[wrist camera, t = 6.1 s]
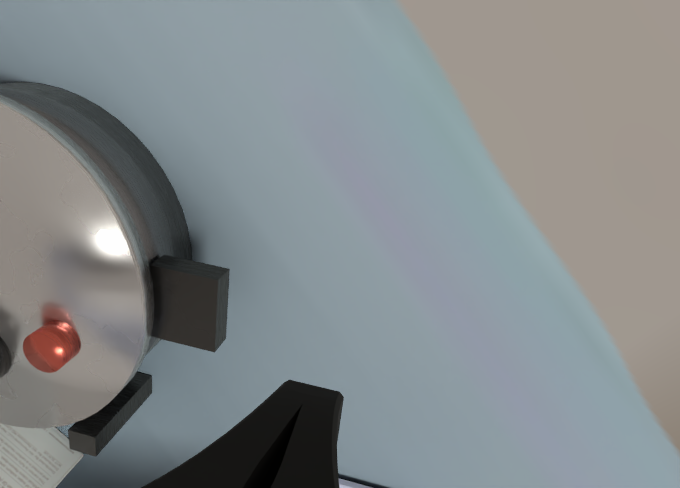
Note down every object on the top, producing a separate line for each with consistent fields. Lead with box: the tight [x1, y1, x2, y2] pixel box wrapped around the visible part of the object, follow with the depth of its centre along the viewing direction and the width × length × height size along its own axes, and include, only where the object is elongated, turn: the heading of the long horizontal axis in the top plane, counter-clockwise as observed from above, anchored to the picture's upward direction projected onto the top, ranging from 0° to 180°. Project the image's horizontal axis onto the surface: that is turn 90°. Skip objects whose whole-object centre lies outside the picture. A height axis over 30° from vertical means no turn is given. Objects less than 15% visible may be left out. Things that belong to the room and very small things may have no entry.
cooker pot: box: [0, 82, 230, 456], centre depth 23 cm, size 14×18×4 cm
